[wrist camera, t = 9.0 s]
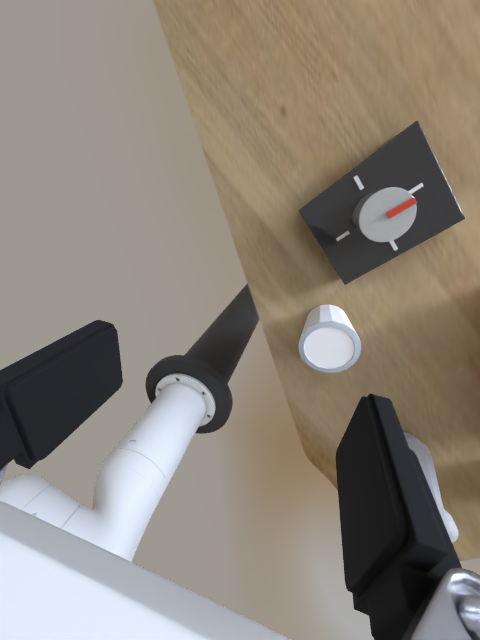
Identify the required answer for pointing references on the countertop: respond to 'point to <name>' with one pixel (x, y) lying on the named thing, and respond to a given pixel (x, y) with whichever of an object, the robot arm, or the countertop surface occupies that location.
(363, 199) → the hob knob
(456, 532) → the salt shaker
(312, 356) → the shot glass
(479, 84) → the countertop surface
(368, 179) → the hob panel
